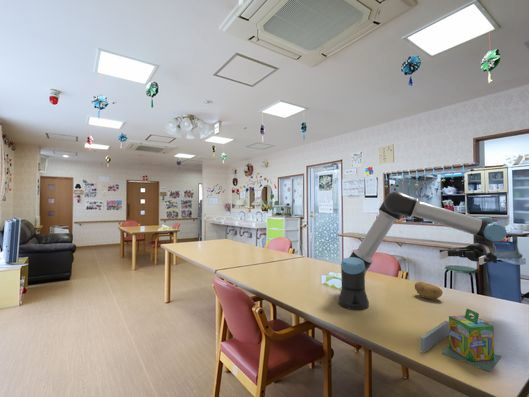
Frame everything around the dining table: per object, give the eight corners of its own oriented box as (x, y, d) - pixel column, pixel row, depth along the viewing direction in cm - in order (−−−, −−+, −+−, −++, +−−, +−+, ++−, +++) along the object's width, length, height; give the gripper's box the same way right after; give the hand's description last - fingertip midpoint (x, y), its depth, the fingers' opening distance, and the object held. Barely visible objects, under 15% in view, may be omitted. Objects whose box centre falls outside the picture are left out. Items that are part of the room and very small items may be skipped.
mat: (442, 353, 94) (442, 352, 94) (456, 341, 101) (456, 340, 101) (489, 371, 83) (489, 370, 83) (500, 357, 91) (500, 356, 91)
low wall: (420, 351, 95) (420, 337, 95) (445, 332, 108) (445, 320, 108) (424, 352, 94) (424, 338, 94) (449, 334, 107) (448, 321, 107)
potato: (436, 304, 139) (436, 288, 139) (411, 296, 151) (410, 281, 151) (447, 300, 143) (446, 285, 143) (421, 293, 156) (421, 279, 156)
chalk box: (448, 347, 96) (447, 306, 97) (471, 346, 97) (469, 305, 98) (470, 363, 87) (469, 317, 87) (495, 360, 88) (494, 315, 88)
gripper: (513, 265, 112) (499, 273, 99) (445, 256, 132) (426, 262, 119) (513, 247, 112) (498, 253, 99) (445, 241, 132) (426, 245, 119)
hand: (459, 258), depth 109 cm, fingers open, 13 cm apart
